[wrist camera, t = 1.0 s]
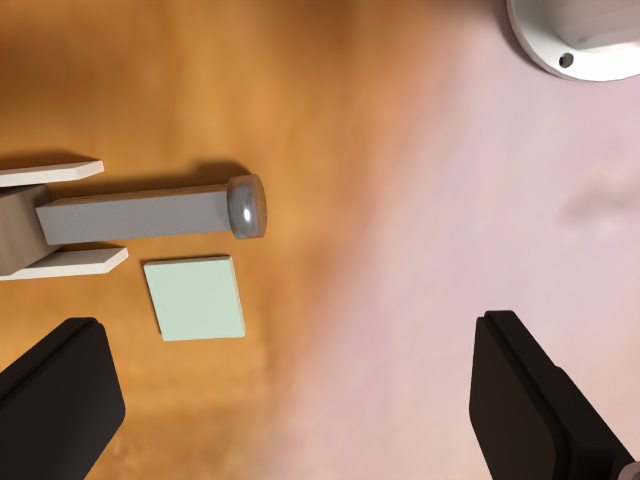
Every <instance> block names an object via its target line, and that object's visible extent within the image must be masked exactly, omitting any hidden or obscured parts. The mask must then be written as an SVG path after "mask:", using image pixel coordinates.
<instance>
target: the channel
mask: <svg viewBox="0 0 640 480" xmlns="http://www.w3.org/2000/svg"><path fill="white" fill-rule="evenodd" d="M103 171H105V170H104V167H103V163H102V160H100V161H90V162H80V163H70V164H60V165H50V166H40V167H30V168H20V169H10V170H0V187H6V186H16V185H27V184H37V183H48V182H58V181H69V180H79V179H82V178H85V177H88V176H91V175H94V174H97V173H100V172H103ZM127 257H129V256H128V252H127V249H126V247H123V248H110V249H97V250H84V251H71V252H58V253H50V254H48V255H47V256H45V257H43V258H41V259H39V260H37V261H36V262H34V263H32V264H30V265H28V266H26V267H25V268H23V269H21V270H19V271H17V272H15V273H14V274H12V275H10V276H0V280H13V279H27V278H41V277H55V276H70V275H84V274H98V273H107V272H109V271H110V270H111V269H113V268H114V267H115V266H117V265H118V264H119V263H121V262H122V261H123V260H125V259H126V258H127Z"/></svg>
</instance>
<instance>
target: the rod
mask: <svg viewBox="0 0 640 480" xmlns="http://www.w3.org/2000/svg"><path fill="white" fill-rule="evenodd" d="M35 209H36V212H37V214H38V217H39V220H40V223H41V226H42V229H43V232H44V235H45V237H46V240H47V243H48V245H56V244H69V243H81V242H94V241H107V240H119V239H132V238H145V237H157V236H170V235H183V234H195V233H208V232H220V231H232V232H233V234H234V236H235V237H236V238H237V239H250V238H262V237H264V235H265V232H266V225H267V208H266V199H265V193H264V189H263V185H262V182H261V180H260V178H259V176H258V175H257V174H253V175H242V176H232V177H231V178H230V179H229V182H228V183H225V184H214V185H203V186H192V187H181V188H170V189H159V190H148V191H137V192H126V193H115V194H104V195H93V196H82V197H71V198H61V199H58V200H56V201H53V202H50V203H48V204H45V205H42V206H40V207H37V208H35Z"/></svg>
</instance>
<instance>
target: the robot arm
mask: <svg viewBox="0 0 640 480" xmlns="http://www.w3.org/2000/svg"><path fill="white" fill-rule="evenodd" d="M506 4H507V12H508V16H509V19H510V23H511V26H512V30H513V32H514V34H515V35H516V37H517V39H518V41H519V43H520V45H521V47H522V48H523V49H524V50H525V52H526V53H527V54H528V55H529V56H530V58H531V59H532V60H533V61H534V62H535V63H537V64H538V65H540V66H541V67H542V68H544V69H545V70H546V71H548V72H550V73H552V74H554V75H557V76H559V77H561V78H563V79H567V80H572V81H577V82H591V83H600V82H610V81H619V80H623V79H626V78H630V77H633V76H637V75H640V0H506ZM560 57H561V58H562V59H563V63H562V64H561V65H559V59H560ZM469 415H470V420H471V424H472V427H473V429H474V432H475V434H476V437H477V440H478V442H479V445H480V448H481V450H482V453H483V455H484V458H485V461H486V463H487V466H488V468H489V471H490V474H491V476H492V479H493V480H640V461H639V462H636V461H635V460H634V458H633V457H632V456H631V455H630V453H629V452H628V451H627V449H626V448H625V447H624V446H623V444H622V443H621V442H620V441H619V439H618V438H617V437H616V436H615V434H614V433H613V432H612V431H611V429H610V428H609V427H608V425H607V424H606V423H605V422H604V420H603V419H602V418H601V417H600V415H599V414H598V413H597V412H596V410H595V409H594V408H593V406H592V405H591V404H590V403H589V401H588V400H587V399H586V398H585V396H584V395H583V394H582V393H581V391H580V390H579V389H578V388H577V386H576V385H575V384H574V382H573V381H572V380H571V379H570V377H569V376H568V375H567V374H566V372H565V371H564V370H563V369H562V368H560V367H557V366H555V365H554V363H553V362H552V361H551V359H550V358H549V357H548V356H547V354H546V353H545V352H544V350H543V349H542V348H541V346H540V345H539V344H538V343H537V341H536V340H535V339H534V337H533V336H532V335H531V334H530V332H529V331H528V330H527V328H526V327H525V326H524V324H523V323H522V322H521V321H520V319H519V318H518V317H517V315H516V314H515V313H514V312H513V311H511V310H501V311H486V312H485V315H484V317H478V318H477V322H476V332H475V344H474V355H473V367H472V378H471V390H470V402H469ZM124 417H125V404H124V400H123V396H122V393H121V389H120V385H119V381H118V377H117V374H116V370H115V366H114V362H113V358H112V355H111V351H110V347H109V343H108V339H107V336H106V332H105V328H104V326H103V325H102V324H101V323H98V321H97V320H96V319H95V318H93V317H84V318H68V319H67V320H65V321H64V322H63V323H61V324H60V325H59V326H58V327H57V328H55V329H54V330H53V331H52V332H50V333H49V334H48V335H47V336H45V337H44V338H43V339H42V340H40V341H39V342H38V343H37V344H36V345H34V346H33V347H32V348H31V349H29V350H28V351H27V352H26V353H24V354H23V355H22V356H21V357H19V358H18V359H17V360H16V361H14V362H13V363H12V364H11V365H10V366H8V367H7V368H6V369H5V370H3V371H2V372H1V373H0V480H84V478H85V477H86V475H87V474H88V472H89V471H90V469H91V468H92V467H93V465H94V464H95V462H96V461H97V459H98V458H99V456H100V455H101V453H102V452H103V450H104V449H105V447H106V446H107V444H108V443H109V441H110V440H111V439H112V437H113V436H114V434H115V433H116V431H117V430H118V428H119V427H120V425H121V424H122V422H123V420H124Z"/></svg>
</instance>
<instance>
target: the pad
mask: <svg viewBox="0 0 640 480" xmlns="http://www.w3.org/2000/svg"><path fill="white" fill-rule="evenodd" d="M144 270H145V274H146V277H147V281H148V285H149V288H150V292H151V296H152V299H153V303H154V307H155V311H156V314H157V318H158V322H159V325H160V329H161V333H162V336H163V340H164V341H172V340H191V339H210V338H229V337H244V335H245V332H246V330H245V324H244V319H243V314H242V308H241V303H240V298H239V293H238V287H237V282H236V277H235V272H234V266H233V261H232V256H223V257H209V258H195V259H181V260H168V261H154V262H147V263H146V264H145V265H144Z"/></svg>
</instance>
